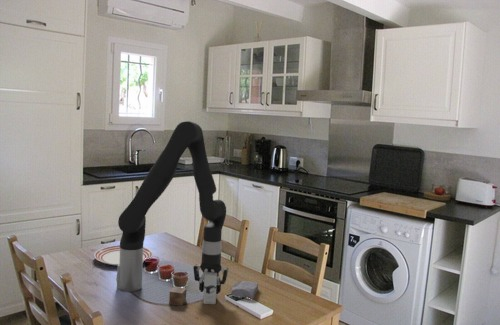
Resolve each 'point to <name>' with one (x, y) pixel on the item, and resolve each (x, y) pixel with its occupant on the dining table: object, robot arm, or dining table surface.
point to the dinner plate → (116, 255)
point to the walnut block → (177, 296)
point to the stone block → (245, 289)
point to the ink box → (210, 288)
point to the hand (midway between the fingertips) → (209, 292)
